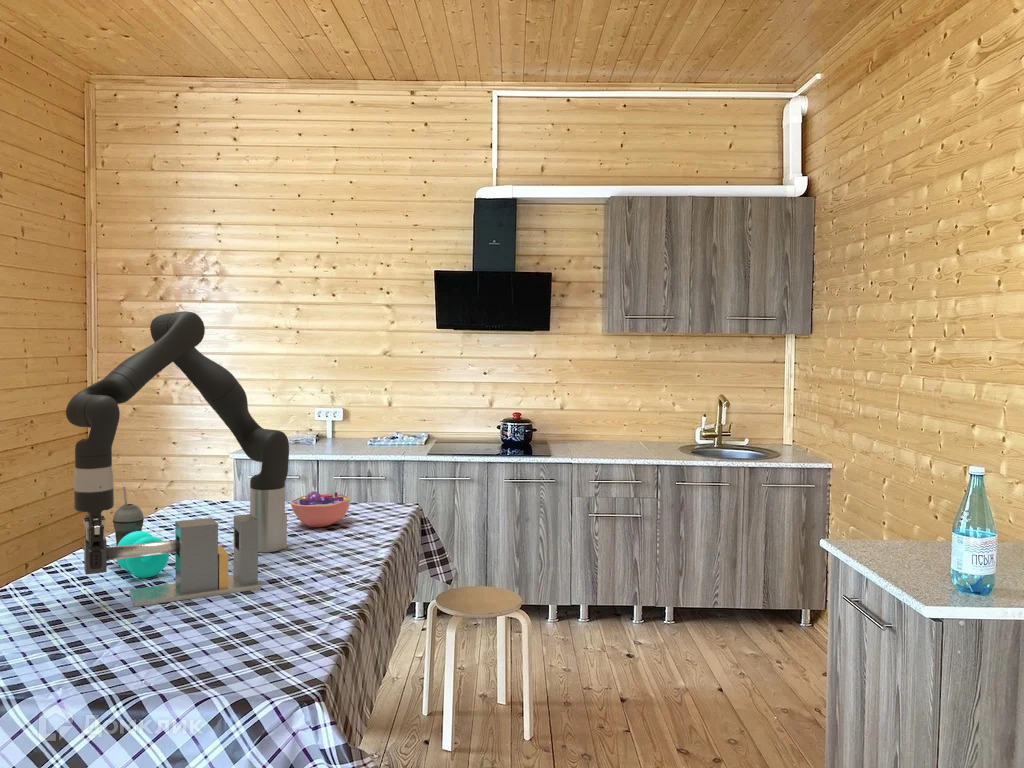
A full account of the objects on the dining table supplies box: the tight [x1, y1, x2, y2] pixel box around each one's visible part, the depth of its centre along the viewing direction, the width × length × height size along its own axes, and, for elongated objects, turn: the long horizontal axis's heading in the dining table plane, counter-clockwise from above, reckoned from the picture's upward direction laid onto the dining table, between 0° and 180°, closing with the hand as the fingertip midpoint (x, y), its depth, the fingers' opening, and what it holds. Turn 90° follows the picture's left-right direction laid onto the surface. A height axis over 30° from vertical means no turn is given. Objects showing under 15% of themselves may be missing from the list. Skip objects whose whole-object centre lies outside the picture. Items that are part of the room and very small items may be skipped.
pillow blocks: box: [128, 513, 263, 608], centre depth 184 cm, size 27×10×16 cm, turn 122°
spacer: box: [218, 545, 229, 589], centre depth 187 cm, size 2×8×8 cm, turn 32°
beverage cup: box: [112, 486, 145, 568], centre depth 203 cm, size 7×7×20 cm
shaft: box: [83, 537, 180, 576], centre depth 178 cm, size 26×4×7 cm, turn 122°
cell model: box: [289, 490, 351, 528], centre depth 251 cm, size 17×20×11 cm
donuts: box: [115, 530, 170, 579], centre depth 196 cm, size 10×10×10 cm
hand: (95, 565), depth 173 cm, fingers closed on shaft, 4 cm apart
